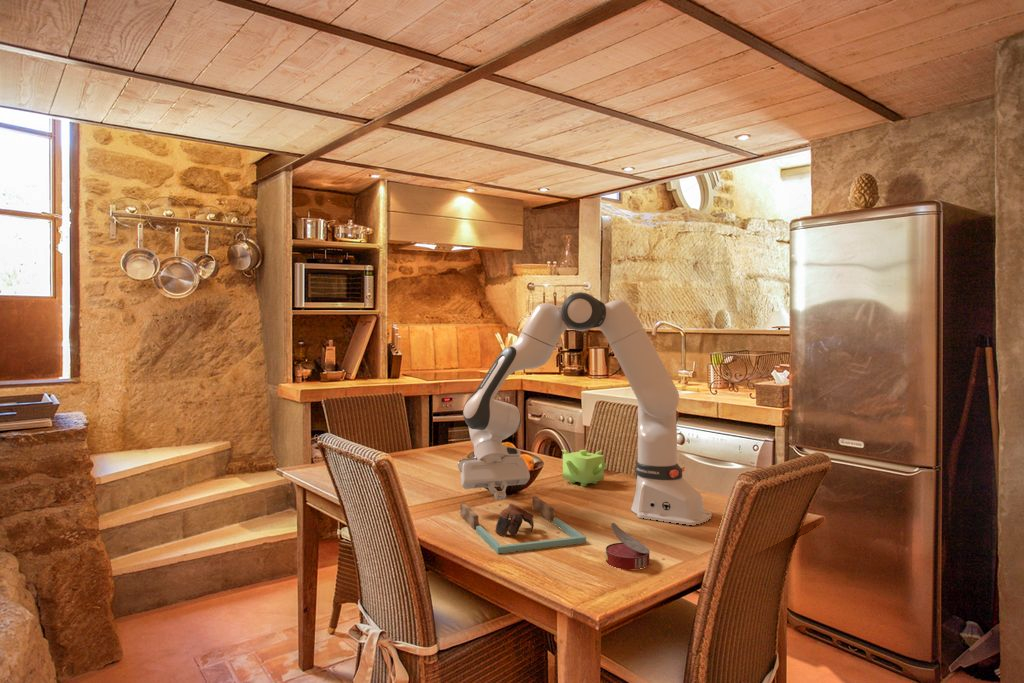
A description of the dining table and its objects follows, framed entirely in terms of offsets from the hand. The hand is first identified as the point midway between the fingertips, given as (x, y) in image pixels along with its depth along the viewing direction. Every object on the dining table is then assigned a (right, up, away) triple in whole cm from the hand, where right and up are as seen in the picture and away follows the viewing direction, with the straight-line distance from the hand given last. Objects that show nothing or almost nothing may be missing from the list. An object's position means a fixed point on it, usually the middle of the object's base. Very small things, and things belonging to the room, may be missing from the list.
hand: (500, 498), depth 186 cm
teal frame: (+8, -5, -20) cm, 22 cm away
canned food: (+29, -6, -36) cm, 47 cm away
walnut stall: (+2, -5, -4) cm, 6 cm away
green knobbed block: (+28, -4, +38) cm, 47 cm away
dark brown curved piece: (+4, -5, -17) cm, 18 cm away
